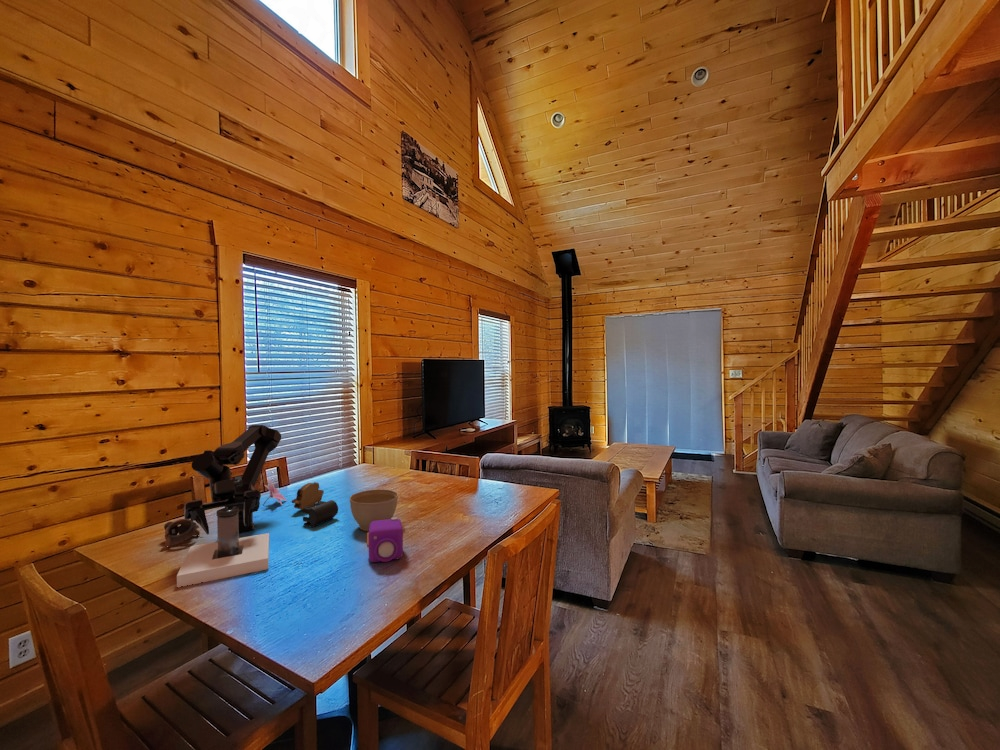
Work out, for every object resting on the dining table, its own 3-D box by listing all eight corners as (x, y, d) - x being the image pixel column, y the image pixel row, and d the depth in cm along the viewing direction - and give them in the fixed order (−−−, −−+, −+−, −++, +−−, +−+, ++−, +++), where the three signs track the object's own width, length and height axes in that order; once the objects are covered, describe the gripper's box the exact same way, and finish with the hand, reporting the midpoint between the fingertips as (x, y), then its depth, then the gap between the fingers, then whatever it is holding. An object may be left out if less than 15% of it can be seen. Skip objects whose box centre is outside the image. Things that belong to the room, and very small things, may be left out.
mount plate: (191, 556, 120) (191, 546, 120) (269, 542, 130) (269, 532, 130) (176, 587, 103) (176, 575, 103) (268, 568, 113) (268, 558, 113)
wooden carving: (314, 501, 171) (314, 477, 171) (324, 501, 170) (324, 477, 170) (288, 515, 155) (288, 488, 155) (300, 515, 154) (299, 489, 154)
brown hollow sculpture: (209, 537, 136) (204, 520, 132) (183, 561, 128) (177, 544, 124) (179, 526, 138) (173, 508, 133) (151, 548, 129) (144, 531, 125)
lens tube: (218, 560, 118) (217, 508, 117) (240, 556, 120) (239, 505, 120) (215, 568, 113) (215, 514, 113) (239, 564, 115) (238, 511, 115)
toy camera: (371, 572, 111) (371, 535, 110) (363, 552, 123) (363, 519, 123) (411, 563, 116) (410, 528, 115) (399, 545, 128) (399, 513, 128)
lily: (268, 514, 159) (282, 490, 161) (245, 500, 161) (258, 477, 164) (286, 513, 171) (298, 491, 173) (263, 500, 173) (276, 479, 175)
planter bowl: (361, 540, 131) (361, 506, 131) (342, 526, 144) (342, 495, 144) (406, 527, 142) (406, 496, 142) (385, 515, 154) (385, 486, 154)
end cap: (317, 528, 141) (316, 509, 141) (301, 525, 144) (301, 506, 144) (338, 519, 151) (338, 500, 151) (323, 516, 153) (323, 498, 153)
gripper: (184, 474, 117) (188, 523, 109) (259, 463, 129) (267, 507, 121) (182, 495, 123) (186, 543, 115) (254, 483, 135) (262, 526, 127)
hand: (227, 529), depth 119 cm, fingers open, 9 cm apart
